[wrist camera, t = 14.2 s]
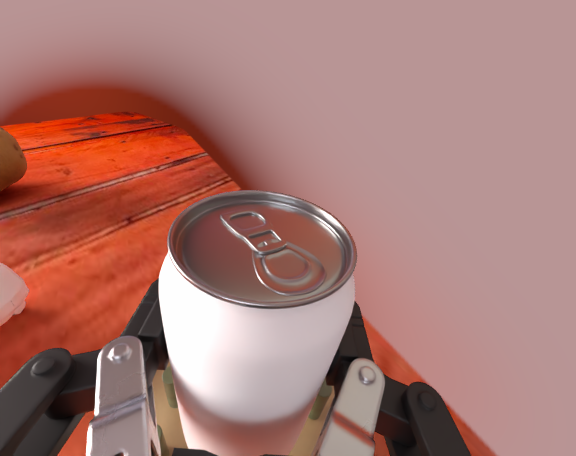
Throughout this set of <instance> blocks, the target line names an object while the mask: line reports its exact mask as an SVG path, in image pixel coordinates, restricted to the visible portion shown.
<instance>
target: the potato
mask: <svg viewBox="0 0 576 456" xmlns="http://www.w3.org/2000/svg"><path fill="white" fill-rule="evenodd" d="M26 169H27V162H26V158H25V156H24V154H23V152H22V150H21V148H20V146H19V144H18V142H17V141H16V139H15V138H14V137H13V136H12V135H10V134H9V133H8V132H6V131H5V130H4V129H3V128H1V127H0V191H2V190H3V189H5V188H6V187H8V186H10V185H11V184H13V183H15V182H17V181H18V180H20V179H21V178H22V177H23V175H24V174H25V172H26Z"/></svg>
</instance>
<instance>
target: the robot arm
mask: <svg viewBox="0 0 576 456" xmlns="http://www.w3.org/2000/svg"><path fill="white" fill-rule="evenodd" d="M168 363H169V355H168V350H167V344H166V339H165V333H164V327H163V321H162V315H161V309H160V301H159V278H158V279H157V280H156V281H155V282H153V283H152V284H151V286H150V288H149V289H148V291H147V293H146V295H145V296H144V298H143V299H142V301H141V303H140V304H139V306H138V308H137V309H136V311H135V313H134V314H133V316H132V318H131V319H130V321H129V323H128V324H127V326H126V328H125V329H124V331H123V333H122V334H121V336H120V337H118V338H116V339H114V340H112V341H110V342H109V343H108V344H106V345H105V346H104V347H103V348H102V349H100V350H96V351H91V352H86V353H81V354H76V355H71V354H70V352H69V351H68V350H66V349H63V348H52V349H48V350H45V351H43V352H40V353H39V354H37V355H35V356H34V357H32V358H31V359H29V360H28V361H27V362H26V363H25V364H24V365H23V366H22V367H21V368H20V369H19V370H18V371H17V372H16V373H15V374H14V375H13V377H12V378H11V379H10V380H9V381H8V382H7V383H6V384H5V385H4V386H3V387H2V388H1V389H0V456H57V455H58V453H59V452H60V450H61V449H62V447H63V446H64V444H65V443H66V441H67V440H68V438H69V437H70V435H71V434H72V432H73V431H74V429H75V428H76V426H77V425H78V423H79V421H80V420H81V418H82V417H83V415H84V414H85V413H86V412H89V411H93V410H95V415H94V418H93V419H92V420H91V421H90V423H89V427H88V436H87V451H86V456H161V448H160V442H159V436H158V430H157V421H156V411H155V401H154V392H153V382H152V381H153V378H154V376H155V374H156V371H157V370H166V368H167V365H168ZM326 385H328V386H334V393H335V396H334V398H333V400H332V403H331V405H330V408H329V411H328V413H327V416H326V419H325V421H324V424H323V426H322V429H321V432H320V434H319V437H318V440H317V442H316V445H315V447H314V449H313V451H312V454H311V456H373V455H374V450H375V441H374V440H373V435H374V431H375V432H377V433H379V434H381V435H383V436H384V437H385V441H386V444H387V447H388V450H389V453H390V456H471V454H470V452H469V450H468V448H467V446H466V444H465V442H464V440H463V438H462V436H461V434H460V433H459V431H458V429H457V427H456V425H455V423H454V421H453V419H452V417H451V415H450V413H449V411H448V409H447V407H446V405H445V403H444V401H443V399H442V398H441V396H440V395H439V394H438V393H437V391H436V390H434V389H433V388H432V387H431V386H429V385H427V384H425V383H422V382H413V383H411V384H410V385H409V386H407V385H405V384H402V383H400V382H398V381H395V380H393V379H391V378H389V377H387V376H386V375H384V374H383V373H382V371H381V369H380V368H379V367H378V366H377V365H376V364H375V363H374V361H373V358H372V354H371V350H370V346H369V342H368V338H367V334H366V331H365V327H364V323H363V319H362V315H361V311H360V307H359V306H358V304H357V303H356V302H354V306H353V310H352V314H351V317H350V320H349V322H348V325H347V327H346V330H345V332H344V335H343V337H342V340H341V342H340V344H339V347H338V349H337V351H336V354H335V356H334V358H333V361H332V363H331V365H330V368H329V370H328V372H327V375H326ZM172 456H218V455H215V454H213V453H211V452H208V451H206V450H200V449H186V448H174V450H173V453H172ZM260 456H287V455H273V454H264V455H260Z"/></svg>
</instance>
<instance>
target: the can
mask: <svg viewBox="0 0 576 456" xmlns="http://www.w3.org/2000/svg"><path fill="white" fill-rule="evenodd" d="M167 247H168V254H167V256H166V258H165V260H164V262H163V265H162V268H161V271H160V276H159V301H160V309H161V315H162V321H163V327H164V333H165V339H166V344H167V350H168V355H169V361H170V366H171V371H172V377H173V382H174V388H175V393H176V398H177V403H178V409H179V414H180V419H181V424H182V429H183V433H184V437H185V440H186V443H187V446H188V448H189V449H200V450H206V451H208V452H211V453H213V454H215V455H218V456H260V455H264V454H273V455H288V454H289V453H290V451H291V450H292V448H293V447H294V445H295V443H296V441H297V439H298V437H299V435H300V433H301V431H302V429H303V427H304V424H305V422H306V420H307V418H308V415H309V413H310V411H311V409H312V406H313V404H314V402H315V400H316V397H317V395H318V393H319V391H320V388H321V386H322V384H323V381H324V379H325V377H326V375H327V372H328V370H329V368H330V365H331V363H332V361H333V358H334V356H335V354H336V351H337V349H338V347H339V344H340V342H341V340H342V337H343V335H344V332H345V330H346V327H347V325H348V322H349V320H350V317H351V314H352V310H353V306H354V302H355V284H354V277H353V271H354V269H355V266H356V261H357V251H356V246H355V243H354V240H353V238H352V236H351V234H350V233H349V231H348V230H347V229H346V227H345V226H344V225H343V224H342V223H341V222H340V221H339V220H338V219H337V218H336V217H334V216H333V215H332V214H331V213H329V212H327V211H326V210H324V209H323V208H321V207H319V206H317V205H315V204H313V203H311V202H308V201H306V200H303V199H301V198H297V197H294V196H291V195H287V194H282V193H276V192H269V191H257V190H256V191H255V190H245V191H233V192H226V193H221V194H217V195H213V196H210V197H207V198H205V199H202V200H200V201H198V202H196V203H194V204H192V205H191V206H189V207H188V208H186V209H185V210H184V211H183V212H182V213H180V214H179V216H178V217H177V218H176V219H175V220H174V222H173V224H172V225H171V228H170V230H169V233H168V238H167Z"/></svg>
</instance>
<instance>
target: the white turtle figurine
mask: <svg viewBox="0 0 576 456" xmlns="http://www.w3.org/2000/svg"><path fill="white" fill-rule="evenodd" d="M28 293H29V289H28V287H27V286H26V284H25V282H24V280H23V279H22V278H21V277H20V276H19V275H17V274H16V273H15V272H14V271H13V270H11V269H10V268H9V267H8V266H6V265H4V264H2V263H0V326H1V325H3V324H4V323H5V322H7V321H8V320H9V318H11V316H12V315H16V314H20V313H21V312H22V310H23V309H24V308H25V305H26V302H25V301H24V300H25V298H26V297H27V295H28Z"/></svg>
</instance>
